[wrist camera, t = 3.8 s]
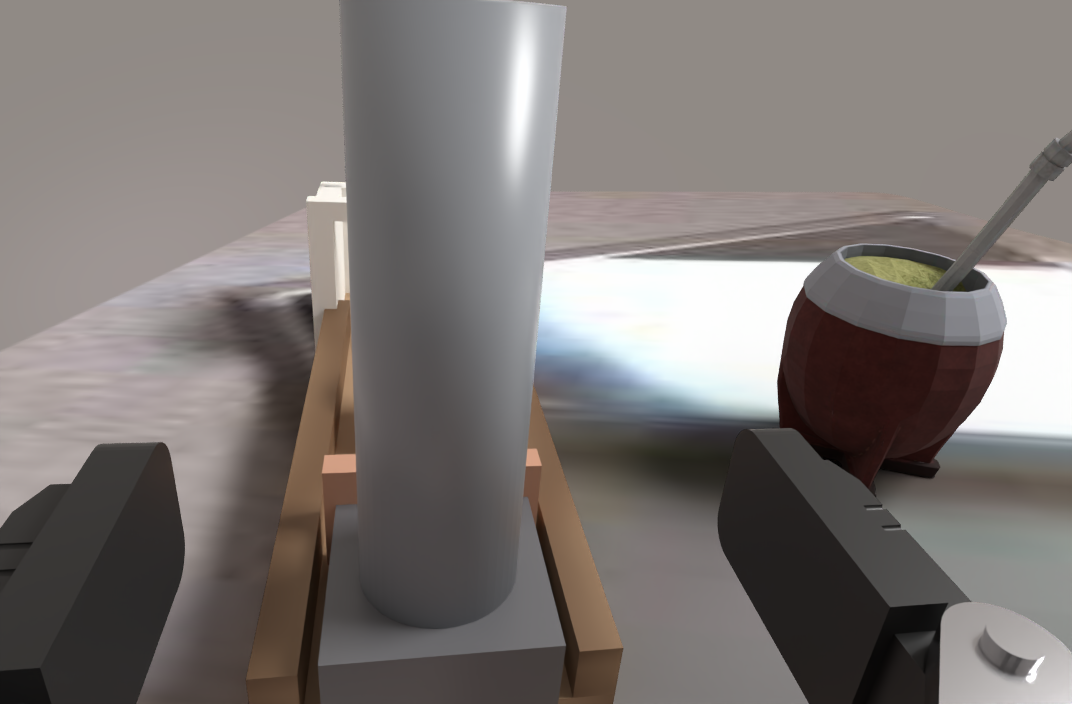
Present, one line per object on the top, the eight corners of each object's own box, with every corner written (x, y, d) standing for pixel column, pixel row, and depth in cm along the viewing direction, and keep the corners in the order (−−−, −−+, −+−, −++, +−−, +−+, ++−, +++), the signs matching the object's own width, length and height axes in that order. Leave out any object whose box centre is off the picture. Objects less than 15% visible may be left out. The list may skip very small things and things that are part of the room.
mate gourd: (757, 399, 33) (847, 35, 26) (946, 433, 31) (1091, 57, 25) (763, 496, 26) (885, 43, 19) (1002, 546, 25) (1221, 75, 18)
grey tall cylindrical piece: (307, 735, 15) (241, -18, 9) (329, 544, 20) (296, -20, 14) (570, 709, 16) (672, 18, 10) (528, 534, 21) (578, 4, 15)
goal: (315, 360, 33) (306, 201, 29) (327, 303, 38) (320, 164, 35) (515, 358, 34) (526, 208, 31) (498, 304, 40) (506, 172, 37)
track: (256, 759, 16) (246, 679, 15) (338, 299, 39) (336, 255, 38) (609, 722, 17) (623, 647, 16) (487, 301, 40) (490, 257, 39)
